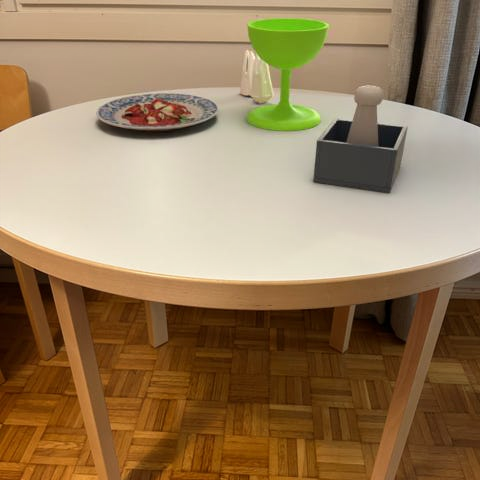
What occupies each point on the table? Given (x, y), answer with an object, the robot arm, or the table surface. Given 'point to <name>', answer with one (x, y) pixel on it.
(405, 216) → the table surface
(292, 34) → the wineglass
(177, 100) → the ceramic plate
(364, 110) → the salt shaker
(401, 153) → the tub
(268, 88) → the shaker set
